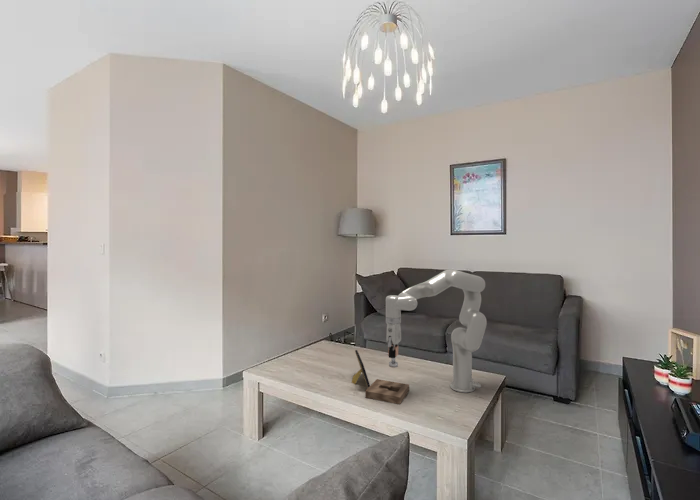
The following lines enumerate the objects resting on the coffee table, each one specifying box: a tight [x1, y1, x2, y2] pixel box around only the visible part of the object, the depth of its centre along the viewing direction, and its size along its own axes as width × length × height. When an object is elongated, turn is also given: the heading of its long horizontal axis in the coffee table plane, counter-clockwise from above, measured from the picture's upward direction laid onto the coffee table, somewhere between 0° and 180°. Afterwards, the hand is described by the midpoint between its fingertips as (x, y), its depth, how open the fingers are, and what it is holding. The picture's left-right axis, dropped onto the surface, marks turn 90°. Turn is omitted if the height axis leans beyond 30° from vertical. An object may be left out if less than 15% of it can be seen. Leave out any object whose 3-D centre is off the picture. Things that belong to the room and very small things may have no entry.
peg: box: [387, 345, 399, 368], centre depth 177 cm, size 4×4×10 cm
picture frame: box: [351, 349, 371, 389], centre depth 194 cm, size 23×9×15 cm, turn 7°
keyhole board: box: [364, 378, 410, 405], centre depth 179 cm, size 18×16×4 cm
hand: (393, 355), depth 177 cm, fingers closed on peg, 4 cm apart
